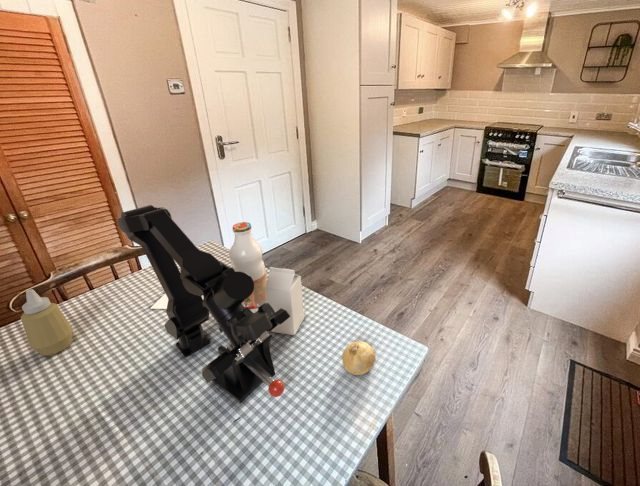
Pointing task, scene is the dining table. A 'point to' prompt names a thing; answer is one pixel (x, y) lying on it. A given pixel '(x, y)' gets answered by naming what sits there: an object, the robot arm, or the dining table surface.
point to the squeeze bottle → (45, 325)
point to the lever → (268, 381)
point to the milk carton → (285, 298)
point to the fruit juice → (249, 263)
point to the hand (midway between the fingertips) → (273, 376)
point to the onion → (358, 358)
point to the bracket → (237, 379)
